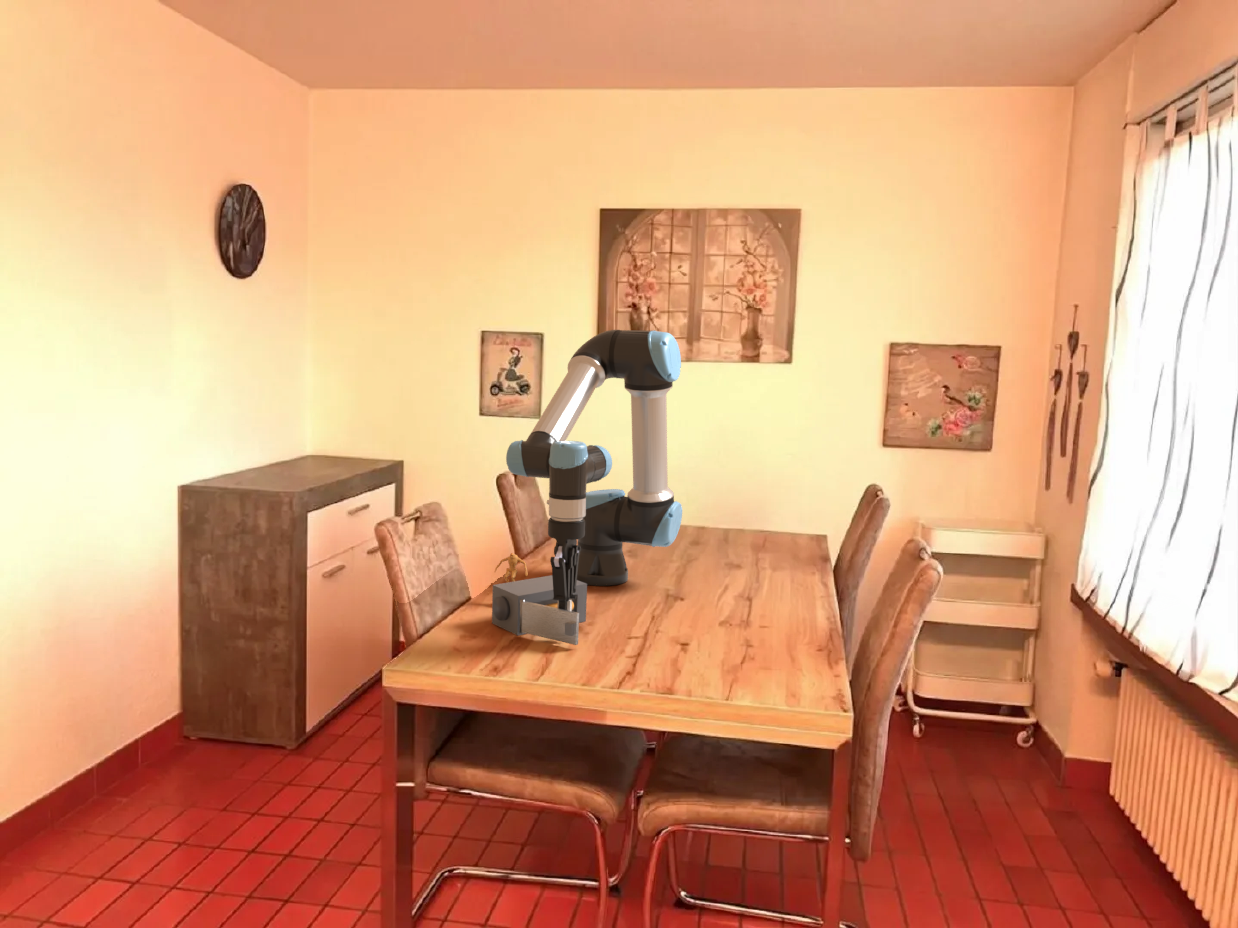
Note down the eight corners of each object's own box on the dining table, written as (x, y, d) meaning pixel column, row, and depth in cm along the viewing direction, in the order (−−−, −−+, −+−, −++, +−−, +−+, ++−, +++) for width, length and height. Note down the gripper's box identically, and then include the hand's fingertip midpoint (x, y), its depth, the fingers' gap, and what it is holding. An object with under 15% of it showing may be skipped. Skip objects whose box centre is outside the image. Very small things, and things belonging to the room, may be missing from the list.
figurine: (487, 605, 215) (488, 554, 213) (498, 598, 221) (499, 549, 219) (520, 609, 213) (521, 558, 211) (531, 603, 218) (532, 552, 217)
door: (578, 645, 188) (579, 610, 187) (573, 648, 186) (574, 613, 185) (521, 631, 195) (521, 598, 194) (515, 634, 193) (516, 600, 192)
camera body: (559, 610, 213) (560, 573, 212) (586, 621, 206) (587, 583, 205) (487, 624, 201) (488, 585, 200) (513, 636, 194) (514, 596, 193)
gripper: (559, 510, 196) (556, 619, 199) (538, 522, 184) (536, 637, 187) (593, 513, 194) (590, 623, 197) (575, 525, 182) (571, 641, 185)
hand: (564, 630), depth 192 cm, fingers closed
